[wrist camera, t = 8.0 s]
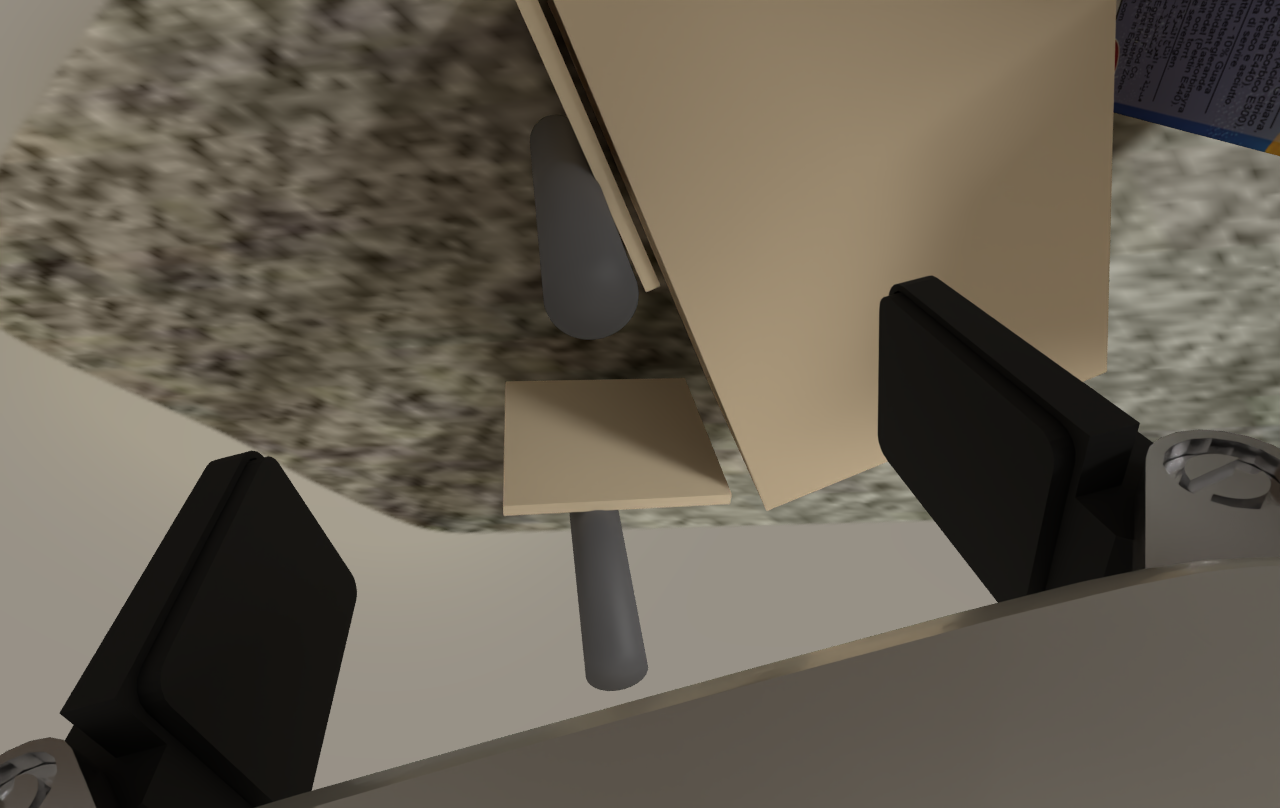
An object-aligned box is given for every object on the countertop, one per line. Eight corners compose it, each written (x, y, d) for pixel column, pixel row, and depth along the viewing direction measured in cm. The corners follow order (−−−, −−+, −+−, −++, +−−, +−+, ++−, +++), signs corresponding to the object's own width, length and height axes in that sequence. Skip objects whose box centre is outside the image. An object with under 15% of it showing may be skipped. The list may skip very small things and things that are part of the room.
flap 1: (522, -32, 24) (533, -14, 11) (622, 200, 29) (709, 396, 16) (460, 0, 24) (401, 53, 11) (571, 224, 29) (616, 437, 16)
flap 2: (505, 381, 33) (500, 653, 20) (684, 378, 34) (786, 628, 21) (507, 422, 34) (503, 701, 21) (679, 417, 36) (771, 674, 23)
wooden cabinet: (897, -272, 22) (1127, -407, 14) (962, 270, 34) (1106, 371, 26) (515, -74, 23) (516, -90, 15) (707, 380, 35) (766, 510, 27)
